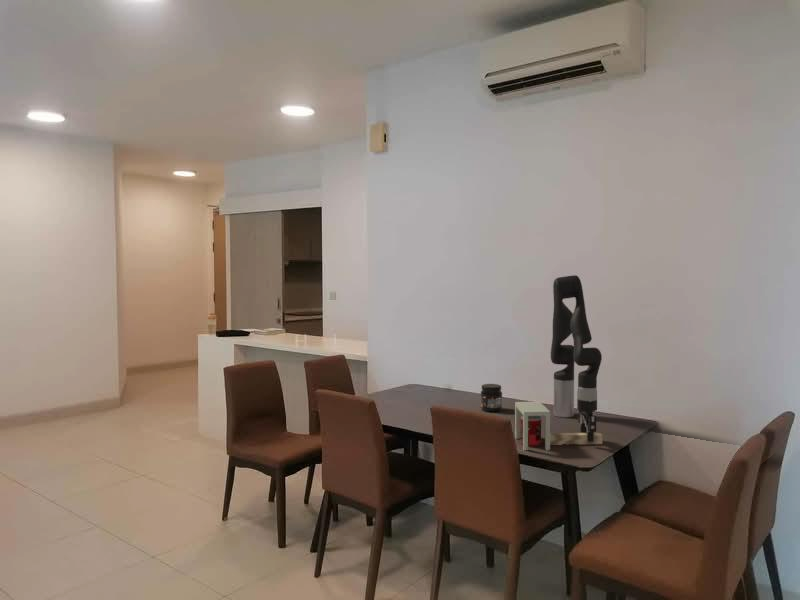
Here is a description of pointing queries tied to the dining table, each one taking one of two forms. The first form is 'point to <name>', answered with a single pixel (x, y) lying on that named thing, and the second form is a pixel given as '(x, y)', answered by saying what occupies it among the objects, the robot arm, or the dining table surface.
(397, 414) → the dining table surface
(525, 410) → the stand
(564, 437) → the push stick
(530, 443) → the canned food
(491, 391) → the supplement container
